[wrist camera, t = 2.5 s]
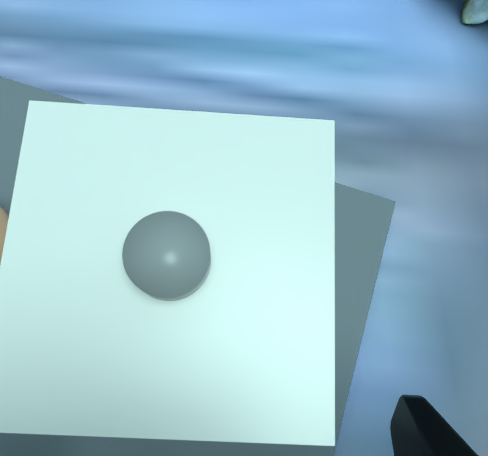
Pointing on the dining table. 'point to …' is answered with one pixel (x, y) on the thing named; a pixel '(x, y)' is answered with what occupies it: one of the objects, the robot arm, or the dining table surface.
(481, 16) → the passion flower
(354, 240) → the placemat
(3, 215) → the bowl
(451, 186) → the dining table surface
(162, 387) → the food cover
